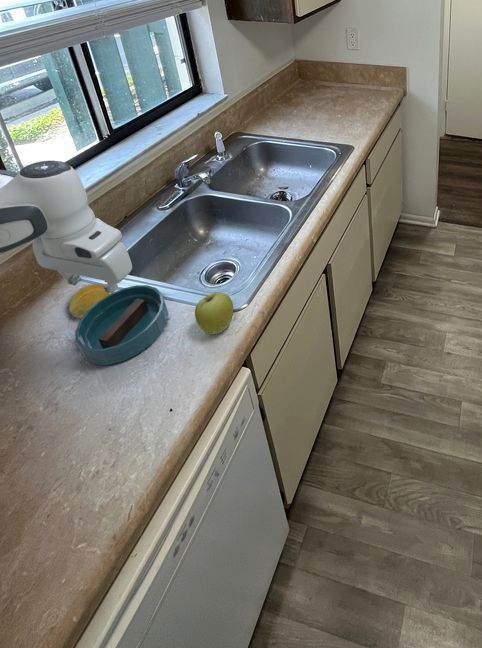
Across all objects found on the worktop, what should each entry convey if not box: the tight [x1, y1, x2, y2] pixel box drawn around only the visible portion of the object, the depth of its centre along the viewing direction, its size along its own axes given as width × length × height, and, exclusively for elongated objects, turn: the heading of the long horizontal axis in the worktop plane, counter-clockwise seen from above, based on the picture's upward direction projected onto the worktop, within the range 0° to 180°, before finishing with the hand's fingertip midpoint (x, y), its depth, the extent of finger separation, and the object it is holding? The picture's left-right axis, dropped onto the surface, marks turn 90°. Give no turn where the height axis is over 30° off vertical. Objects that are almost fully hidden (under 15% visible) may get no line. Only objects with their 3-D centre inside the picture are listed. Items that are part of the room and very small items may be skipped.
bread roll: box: [68, 283, 111, 320], centre depth 107 cm, size 8×9×4 cm
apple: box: [194, 291, 234, 335], centre depth 100 cm, size 8×8×10 cm
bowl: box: [74, 284, 169, 366], centre depth 100 cm, size 17×17×5 cm
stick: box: [98, 298, 148, 349], centre depth 100 cm, size 11×2×4 cm, turn 167°
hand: (93, 286), depth 92 cm, fingers open, 8 cm apart
